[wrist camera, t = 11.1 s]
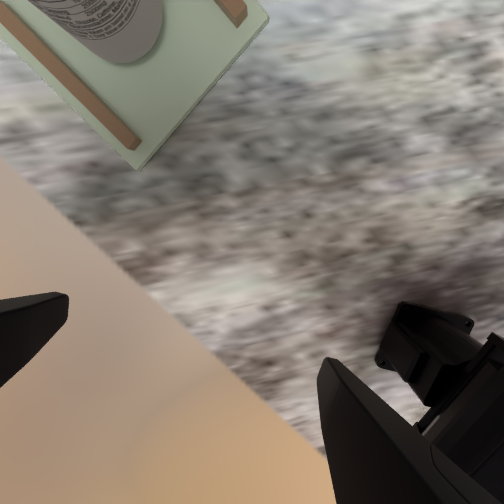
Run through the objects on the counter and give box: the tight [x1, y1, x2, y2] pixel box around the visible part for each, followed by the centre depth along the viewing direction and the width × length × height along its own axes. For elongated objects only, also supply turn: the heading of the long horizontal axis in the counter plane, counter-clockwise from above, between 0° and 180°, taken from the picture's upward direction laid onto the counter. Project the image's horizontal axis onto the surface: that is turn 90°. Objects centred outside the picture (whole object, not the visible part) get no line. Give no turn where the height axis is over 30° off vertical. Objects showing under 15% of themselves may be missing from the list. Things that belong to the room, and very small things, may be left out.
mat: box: [0, 0, 269, 171], centre depth 17 cm, size 14×14×2 cm
